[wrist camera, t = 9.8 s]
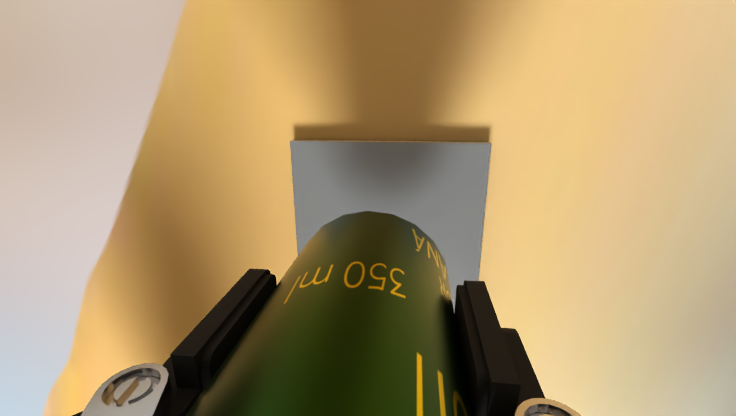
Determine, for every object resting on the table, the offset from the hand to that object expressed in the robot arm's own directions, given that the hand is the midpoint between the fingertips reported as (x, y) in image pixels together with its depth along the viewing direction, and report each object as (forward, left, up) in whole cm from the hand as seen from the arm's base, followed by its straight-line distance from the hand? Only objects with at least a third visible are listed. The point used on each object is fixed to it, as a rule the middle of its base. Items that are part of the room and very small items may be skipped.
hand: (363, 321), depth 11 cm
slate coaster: (0, 0, -8) cm, 8 cm away
